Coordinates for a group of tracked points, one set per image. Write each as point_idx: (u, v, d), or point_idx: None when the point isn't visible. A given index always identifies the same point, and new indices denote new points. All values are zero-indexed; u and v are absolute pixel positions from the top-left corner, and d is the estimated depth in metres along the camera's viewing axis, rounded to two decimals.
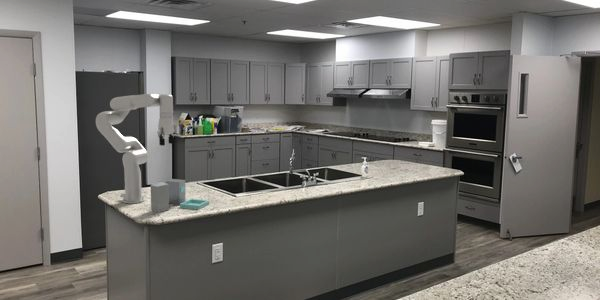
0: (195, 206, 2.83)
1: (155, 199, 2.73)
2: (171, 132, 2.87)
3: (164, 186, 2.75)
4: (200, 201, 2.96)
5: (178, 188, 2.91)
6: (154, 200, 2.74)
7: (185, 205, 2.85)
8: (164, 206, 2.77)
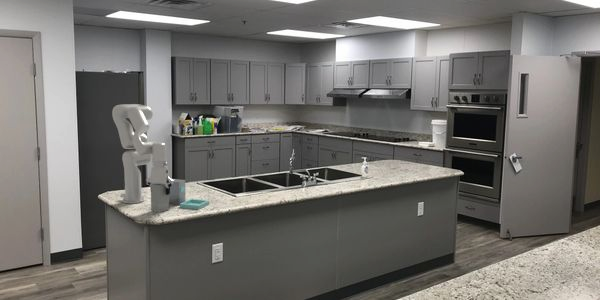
0: (195, 206, 2.83)
1: (155, 199, 2.73)
2: (160, 182, 2.73)
3: (164, 186, 2.75)
4: (200, 201, 2.96)
5: (178, 188, 2.91)
6: (154, 200, 2.74)
7: (185, 205, 2.85)
8: (164, 206, 2.77)
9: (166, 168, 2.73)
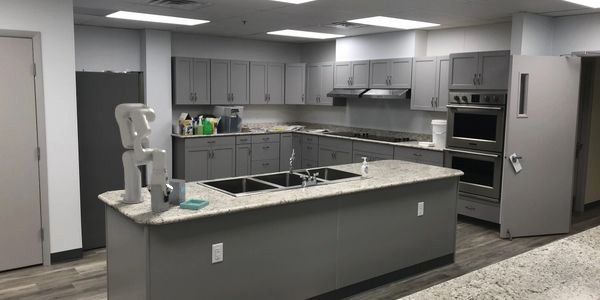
0: (195, 206, 2.83)
1: (155, 199, 2.73)
2: None
3: None
4: (200, 201, 2.96)
5: (178, 188, 2.91)
6: (154, 200, 2.74)
7: (185, 205, 2.85)
8: (164, 206, 2.77)
9: (166, 175, 2.74)
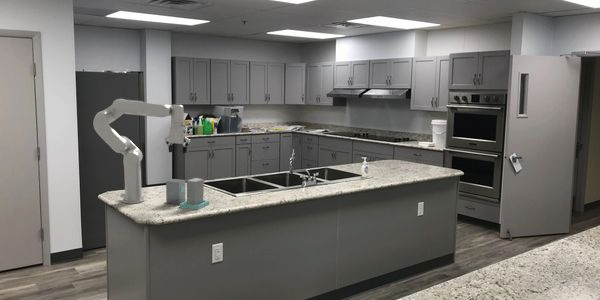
0: (195, 206, 2.83)
1: (192, 193, 2.85)
2: (178, 141, 2.95)
3: (200, 181, 2.88)
4: None
5: (178, 188, 2.91)
6: (191, 195, 2.86)
7: (185, 205, 2.85)
8: (200, 200, 2.90)
9: (183, 128, 2.95)
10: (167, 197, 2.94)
